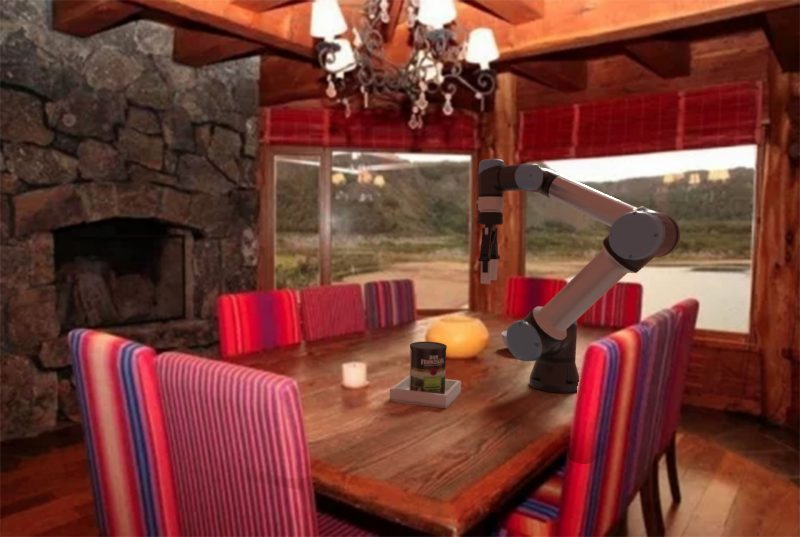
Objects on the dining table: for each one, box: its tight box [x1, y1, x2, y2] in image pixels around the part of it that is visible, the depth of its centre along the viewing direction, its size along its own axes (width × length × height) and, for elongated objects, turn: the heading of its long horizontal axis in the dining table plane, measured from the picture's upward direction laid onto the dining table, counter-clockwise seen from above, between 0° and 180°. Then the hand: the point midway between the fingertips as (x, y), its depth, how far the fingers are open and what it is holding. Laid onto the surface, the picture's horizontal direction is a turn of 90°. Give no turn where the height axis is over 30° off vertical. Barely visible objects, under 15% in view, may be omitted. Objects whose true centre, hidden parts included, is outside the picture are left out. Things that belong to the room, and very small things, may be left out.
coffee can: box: [409, 341, 448, 394], centre depth 164 cm, size 10×10×14 cm
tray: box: [389, 374, 462, 409], centre depth 164 cm, size 16×16×4 cm
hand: (489, 282), depth 177 cm, fingers open, 13 cm apart
